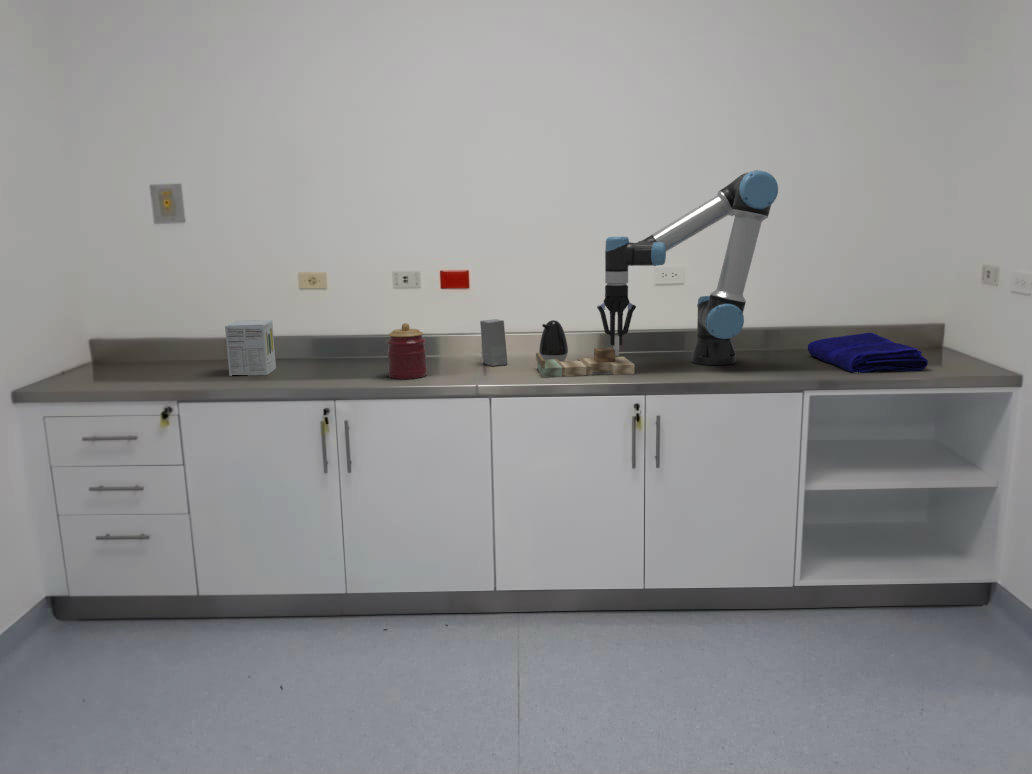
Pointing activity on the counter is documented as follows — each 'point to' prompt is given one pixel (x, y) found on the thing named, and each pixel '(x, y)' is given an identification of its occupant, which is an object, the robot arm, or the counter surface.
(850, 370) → the towel
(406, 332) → the canister
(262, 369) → the supplement box
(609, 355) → the walnut block
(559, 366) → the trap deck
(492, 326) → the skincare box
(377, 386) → the counter surface
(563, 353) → the pump dispenser
